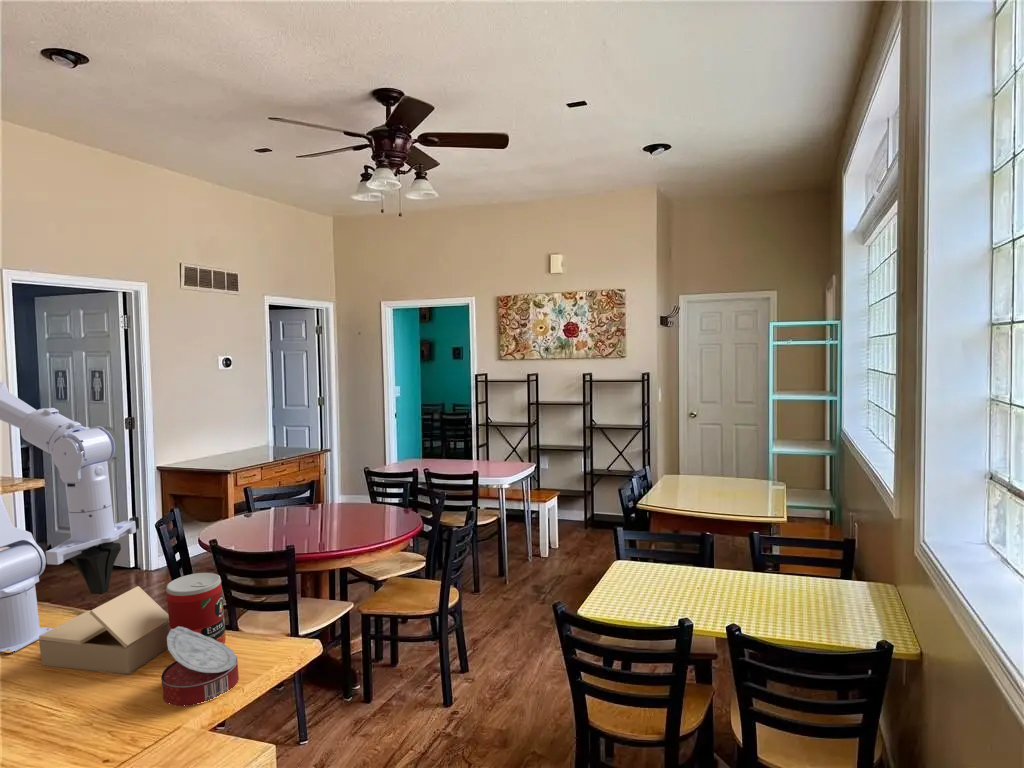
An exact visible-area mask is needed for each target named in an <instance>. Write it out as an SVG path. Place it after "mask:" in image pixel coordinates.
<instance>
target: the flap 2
mask: <svg viewBox="0 0 1024 768" xmlns="http://www.w3.org/2000/svg"><path fill="white" fill-rule="evenodd" d="M90 614H91V615H92V616H93V617H94V618H95V619H96V620H97V621H98V622H99V623H100V624H101V625H102V626H103V627H104V628H105V629H106V630H107V631H108V632H109V633H110V634H111V635H113V636H114V637H115V638H116V639H117V640H118V641H119V642H120V643H121V644H122V645H123V646H124V647H125V648H127V647H128V646H130V645H132V644H133V643H135V642H137V641H138V640H140V639H141V638H143V637H145V636H146V635H148V634H149V633H151V632H153V631H154V630H156V629H157V628H159V627H161V626H162V625H164V624H165V623H167V622H169V615H168V612H167V611H166V610H164V609H163V608H162V606H160V605H159V604H158V603H157V602H156V601H155V600H154V599H153V598H152V597H151V596H150V595H149V594H147V592H145V591H144V590H143V589H142V588H141V587H140V585H138V586H135V587H133V588H132V589H130V590H128V591H125V592H124V593H122V594H119V595H118V596H116V597H114V598H112V599H111V600H108V601H107V602H104V603H103V604H101V605H99V606H97V607H96V608H93V609H92V610H91V612H90Z"/></svg>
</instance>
